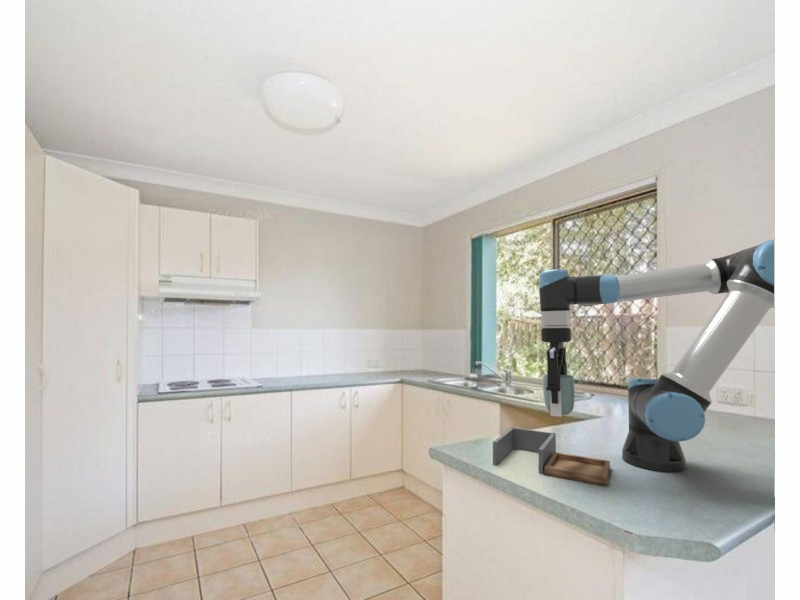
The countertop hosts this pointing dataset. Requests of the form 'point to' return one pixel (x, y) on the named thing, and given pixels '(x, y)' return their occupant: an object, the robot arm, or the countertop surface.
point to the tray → (578, 468)
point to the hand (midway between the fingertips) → (559, 412)
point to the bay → (525, 444)
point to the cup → (562, 393)
